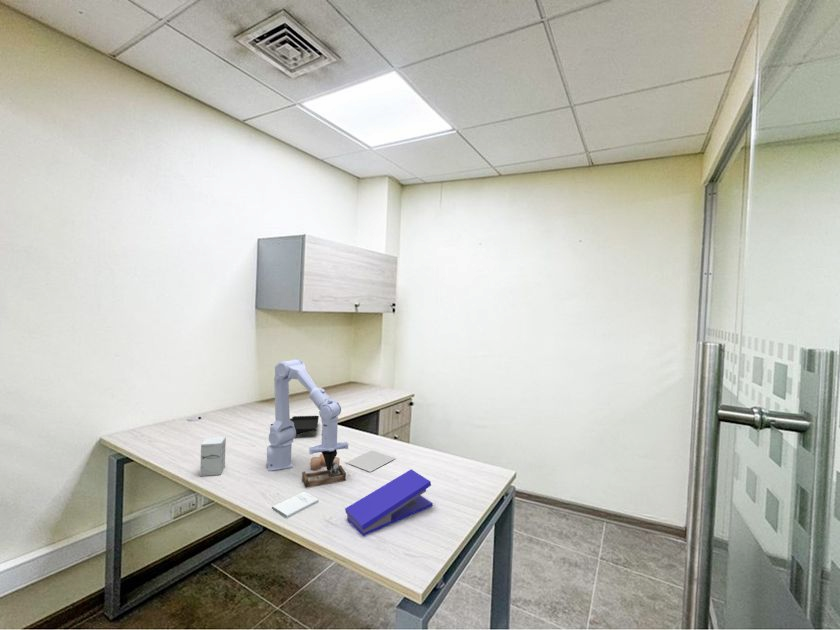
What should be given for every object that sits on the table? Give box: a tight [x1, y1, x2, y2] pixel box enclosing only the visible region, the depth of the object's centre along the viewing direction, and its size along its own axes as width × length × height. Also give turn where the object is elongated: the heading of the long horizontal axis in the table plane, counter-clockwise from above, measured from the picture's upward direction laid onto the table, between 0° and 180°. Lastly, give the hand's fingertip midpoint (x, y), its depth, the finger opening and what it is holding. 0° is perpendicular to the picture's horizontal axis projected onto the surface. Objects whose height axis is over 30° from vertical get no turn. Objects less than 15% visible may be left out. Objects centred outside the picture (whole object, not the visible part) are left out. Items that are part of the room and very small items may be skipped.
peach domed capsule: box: [309, 456, 322, 472], centre depth 152 cm, size 4×4×4 cm
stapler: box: [344, 469, 434, 537], centre depth 122 cm, size 12×28×10 cm, turn 130°
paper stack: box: [345, 449, 396, 473], centre depth 155 cm, size 23×25×1 cm
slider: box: [329, 462, 341, 477], centre depth 144 cm, size 3×5×5 cm, turn 27°
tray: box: [270, 415, 320, 436], centre depth 195 cm, size 30×23×5 cm
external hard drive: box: [271, 491, 319, 519], centre depth 125 cm, size 2×8×12 cm
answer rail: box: [301, 464, 347, 489], centre depth 143 cm, size 15×7×3 cm, turn 117°
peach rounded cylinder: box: [318, 453, 326, 468], centre depth 156 cm, size 4×4×4 cm
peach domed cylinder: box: [331, 456, 340, 469], centre depth 152 cm, size 4×4×4 cm
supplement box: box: [199, 436, 227, 477], centre depth 146 cm, size 7×7×13 cm
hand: (328, 469), depth 143 cm, fingers closed
